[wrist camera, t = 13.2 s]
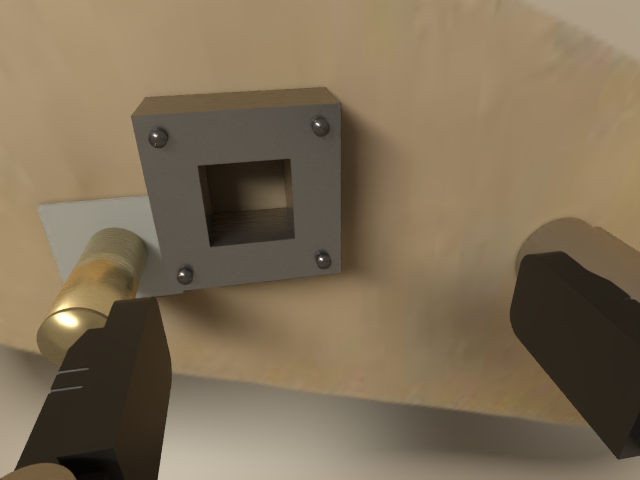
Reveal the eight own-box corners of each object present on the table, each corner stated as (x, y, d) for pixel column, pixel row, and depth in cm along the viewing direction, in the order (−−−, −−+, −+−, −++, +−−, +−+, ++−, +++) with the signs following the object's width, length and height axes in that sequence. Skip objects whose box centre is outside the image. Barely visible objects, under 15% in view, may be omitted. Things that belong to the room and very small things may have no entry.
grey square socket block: (325, 87, 37) (342, 105, 32) (327, 239, 44) (342, 276, 38) (145, 97, 35) (129, 118, 30) (176, 254, 42) (168, 296, 36)
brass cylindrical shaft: (141, 224, 40) (110, 306, 29) (152, 274, 42) (127, 366, 32) (80, 230, 39) (25, 315, 29) (94, 280, 41) (49, 376, 31)
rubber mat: (164, 193, 39) (163, 195, 39) (183, 290, 44) (183, 293, 44) (38, 204, 38) (36, 206, 38) (72, 303, 43) (71, 306, 42)
